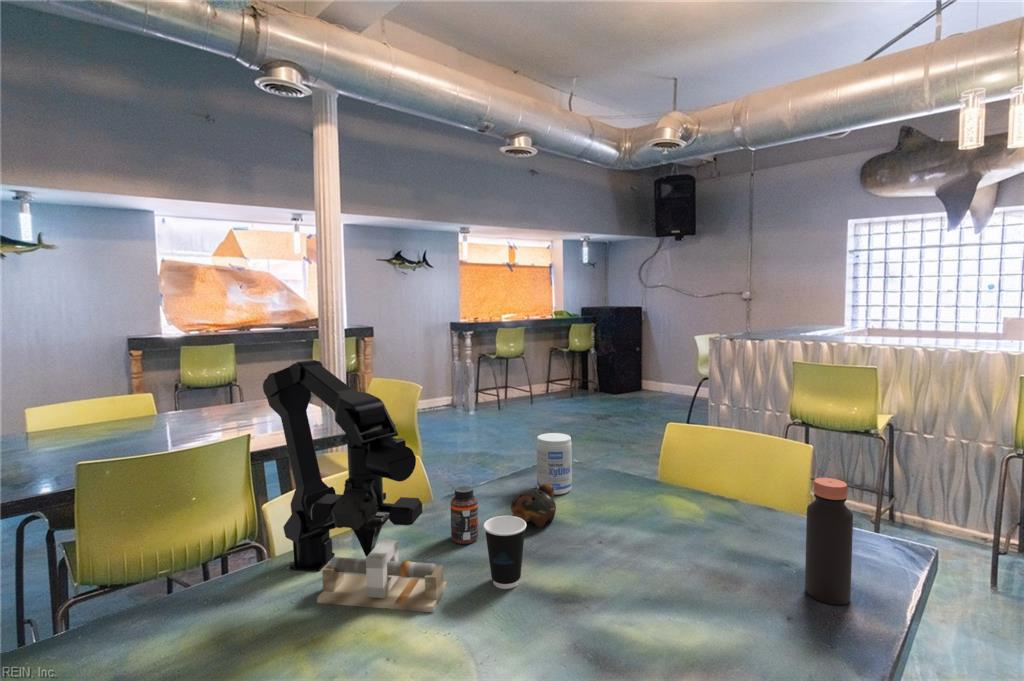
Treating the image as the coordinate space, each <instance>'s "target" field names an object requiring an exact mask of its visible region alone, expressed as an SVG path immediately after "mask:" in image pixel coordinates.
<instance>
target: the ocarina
mask: <svg viewBox="0 0 1024 681" xmlns="http://www.w3.org/2000/svg"><path fill="white" fill-rule="evenodd" d="M510 503H511V504H510V511H511V513H512V514H511V516H515V517H519V518H521V519H523V520H524V521H525V522H526V524H527V523H528V522H532V523H533V524H534V525H535V527H536V528H538V529H542V528H543V526H544V525H546V523H547V522H548V523H551V522H552V521H553V520H554V518H555V515H556V511H557V510H556V509H557V504H556V502H555V500H554V490H553V486H552V485H551V484H549V483H545V484H542V485H541V486H539V488H537V489H536V488H531V489H526V490H525V491H522V492H520V493H519V494H517V495H516V496H515V497H514V499H513V500H512V501H511V502H510Z"/></svg>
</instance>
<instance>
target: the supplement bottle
mask: <svg viewBox="0 0 1024 681" xmlns="http://www.w3.org/2000/svg"><path fill="white" fill-rule="evenodd" d="M478 502H479V501H478V499H477V497H476V496H475V495H474V488H473V487H472V486H470V485H460V486H456V487H455V488H454V496H453V497H452V498H451V500H450V536H451V537H450V538H451V541H453V542H454V543H457V544H460V545H468V544H472V543H474V542H476V541H477V540H478V538H479V504H478Z"/></svg>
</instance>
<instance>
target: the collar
mask: <svg viewBox="0 0 1024 681" xmlns="http://www.w3.org/2000/svg"><path fill="white" fill-rule="evenodd" d="M365 559H366V574H365V575H366V576H367V597H375V598H384V597H385V596H386V595H387V593H388V592H389V590H390V589H391V588H392V586H393V585H394V583H395V582H396V581H397V579H398V578H400V576H389V575H387V563H388V562H389V561H400V560H399V540H398V539H389V538H388V539H386V538H384V539H383V538H382V539H381V540H380V541H379V542H378V543H377V544H376V545H375V547H374V549H373V550H372V551H371V552H370V554H369V555H368V556H365Z"/></svg>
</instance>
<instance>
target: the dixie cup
mask: <svg viewBox="0 0 1024 681" xmlns="http://www.w3.org/2000/svg"><path fill="white" fill-rule="evenodd" d="M482 527H483V530H484V531H485V539H486V546H487V553H488V560H489V561H488V562H489V568H490V569H489V570H490V576H491V579H492V580H493V581H492V583H493V585H494V586H495V587H496V588H499V589H501V590H502V589H503V590H507V589H514V588H515V587H517V586H518V585H519V584H520V579H521V575H522V565H523V564H522V563H523V553H524V544H525V542H524V541H525V533H526V532H525V530H526V528H527V523H526V522H525V521H524V520H523V519H521V518H519V517H515V516H512V515H499V516H493V517H491V518H489V519H487V520H486V521H485V522H484V524H483V526H482ZM518 583H519V584H518Z"/></svg>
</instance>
